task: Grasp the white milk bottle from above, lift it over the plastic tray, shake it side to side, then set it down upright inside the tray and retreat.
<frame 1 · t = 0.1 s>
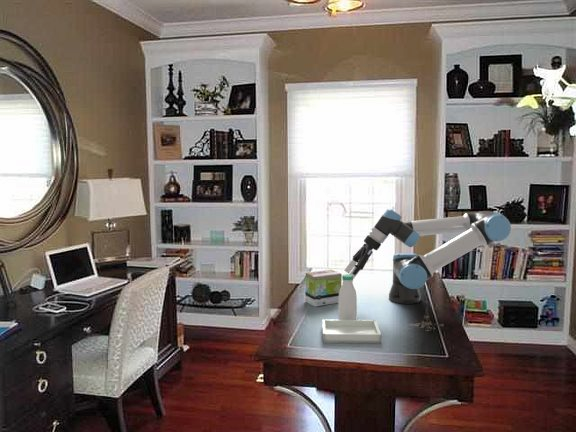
hand: (347, 275, 221), 15 cm above the table, tool tilted 35°, fingers open, 13 cm apart
tea box: (323, 302, 232), on the table
eiffel tower figurine: (426, 329, 197), on the table
milk bottle: (347, 320, 206), on the table
tray: (350, 335, 190), on the table
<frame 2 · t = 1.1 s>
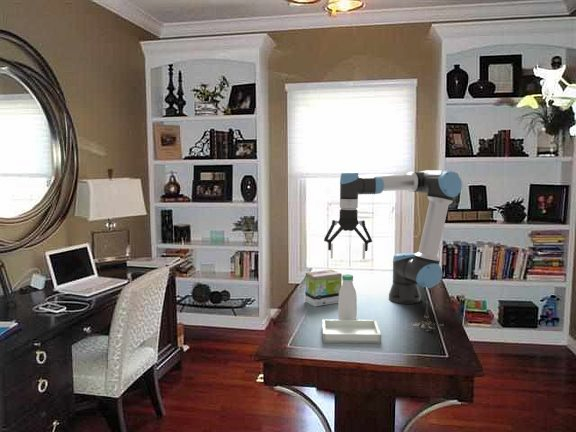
hand: (347, 258, 203), 27 cm above the table, tool pointing down, fingers open, 13 cm apart
nothing on the table moved.
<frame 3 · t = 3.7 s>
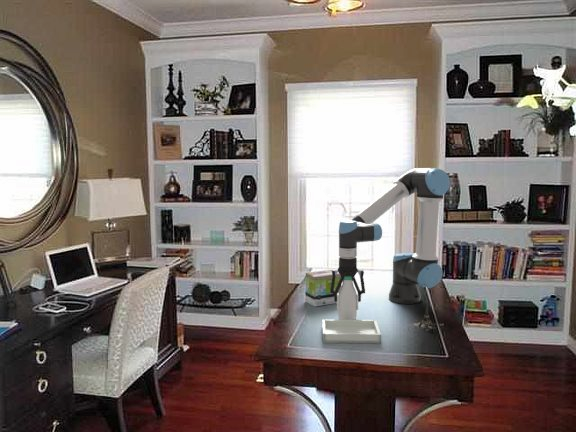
hand: (347, 308, 206), 5 cm above the table, tool pointing down, fingers closed on milk bottle, 7 cm apart
milk bottle: (347, 320, 206), on the table, touching gripper
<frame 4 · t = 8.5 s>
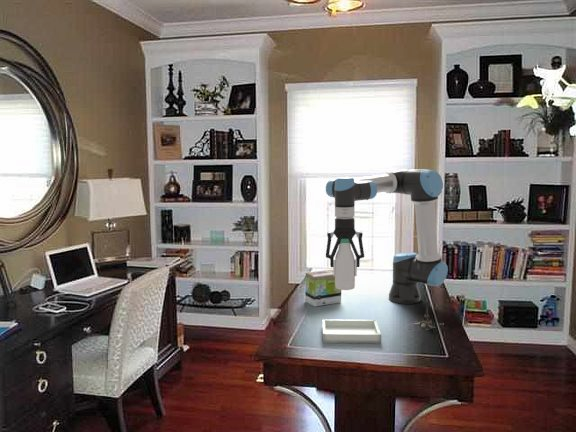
hand: (344, 275, 187), 24 cm above the table, tool pointing down, fingers closed on milk bottle, 7 cm apart
milk bottle: (344, 288, 187), point 19 cm above the table, touching gripper
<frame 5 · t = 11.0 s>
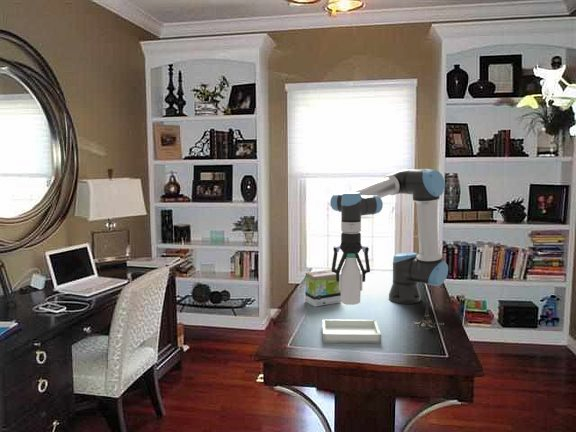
hand: (350, 289, 187), 19 cm above the table, tool pointing down, fingers closed on milk bottle, 7 cm apart
milk bottle: (350, 302, 188), point 13 cm above the table, touching gripper
when the fingers open (8 cm above the table, at t = 13.3 s): milk bottle drops 1 cm, resting on tray.
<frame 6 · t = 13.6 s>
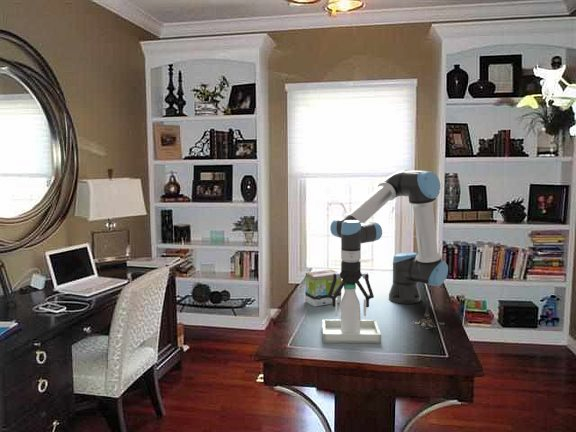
hand: (350, 314, 188), 8 cm above the table, tool pointing down, fingers open, 10 cm apart
milk bottle: (350, 333, 189), point 1 cm above the table, touching tray
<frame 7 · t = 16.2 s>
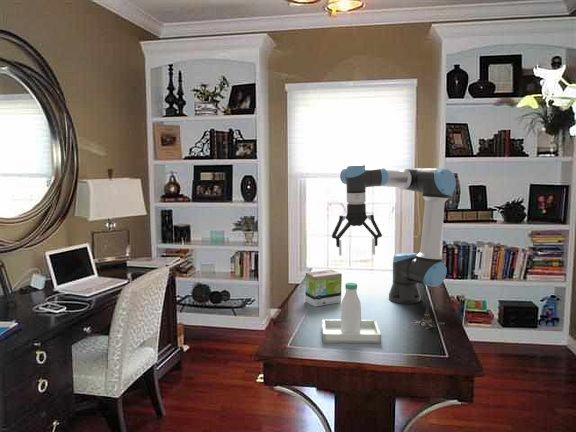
hand: (356, 254, 195), 31 cm above the table, tool pointing down, fingers open, 13 cm apart
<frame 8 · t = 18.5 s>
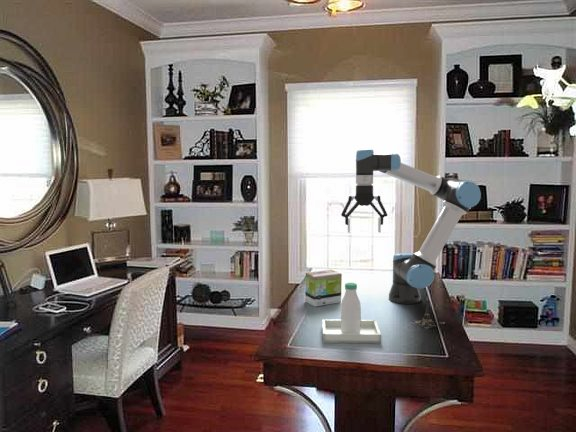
hand: (364, 232, 213), 37 cm above the table, tool pointing down, fingers open, 13 cm apart
at the end: milk bottle inside the target area on the tray (0.1 cm from its centre), point 0.8 cm above the tray's base; milk bottle tilted 0°; the gripper is holding nothing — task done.
